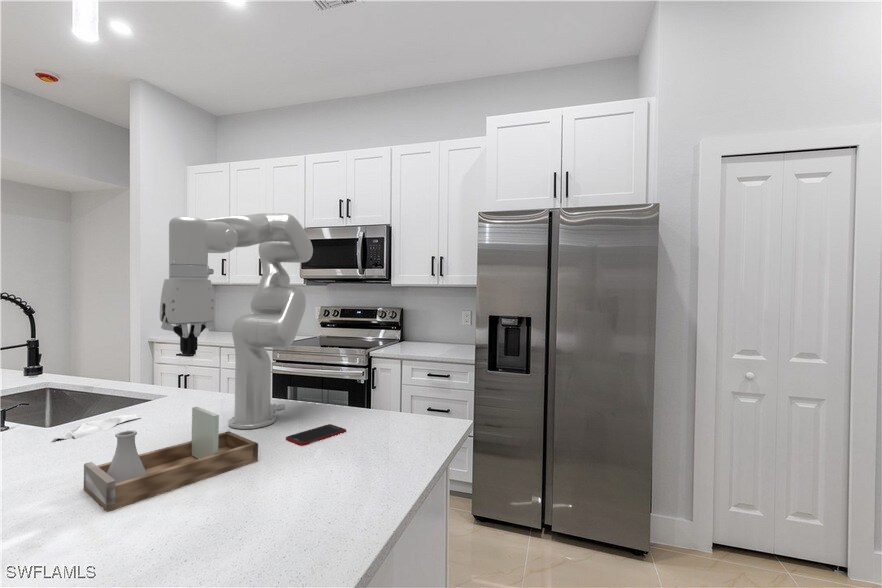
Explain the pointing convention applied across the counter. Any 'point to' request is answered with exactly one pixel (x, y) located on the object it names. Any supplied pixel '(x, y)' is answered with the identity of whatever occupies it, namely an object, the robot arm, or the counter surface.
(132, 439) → the flask
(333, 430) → the cell phone
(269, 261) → the robot arm
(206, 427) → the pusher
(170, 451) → the wooden rimmed tray
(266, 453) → the counter surface
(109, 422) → the cloth
